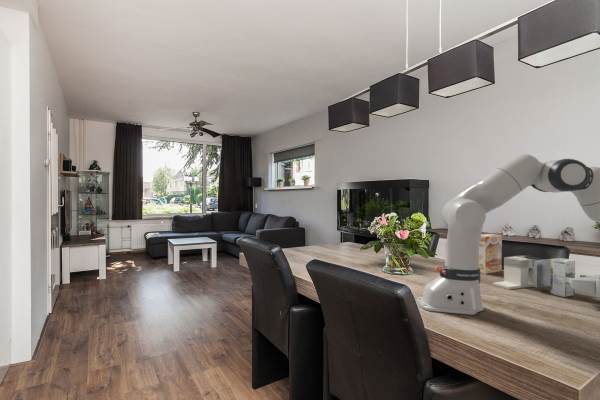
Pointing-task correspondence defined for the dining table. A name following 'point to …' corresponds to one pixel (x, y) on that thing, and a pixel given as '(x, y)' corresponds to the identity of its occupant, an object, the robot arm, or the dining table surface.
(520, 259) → the test stand
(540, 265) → the gray boxy block
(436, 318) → the dining table surface
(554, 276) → the syrup box
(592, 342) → the dining table surface
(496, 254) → the coffeecake box
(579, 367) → the dining table surface
